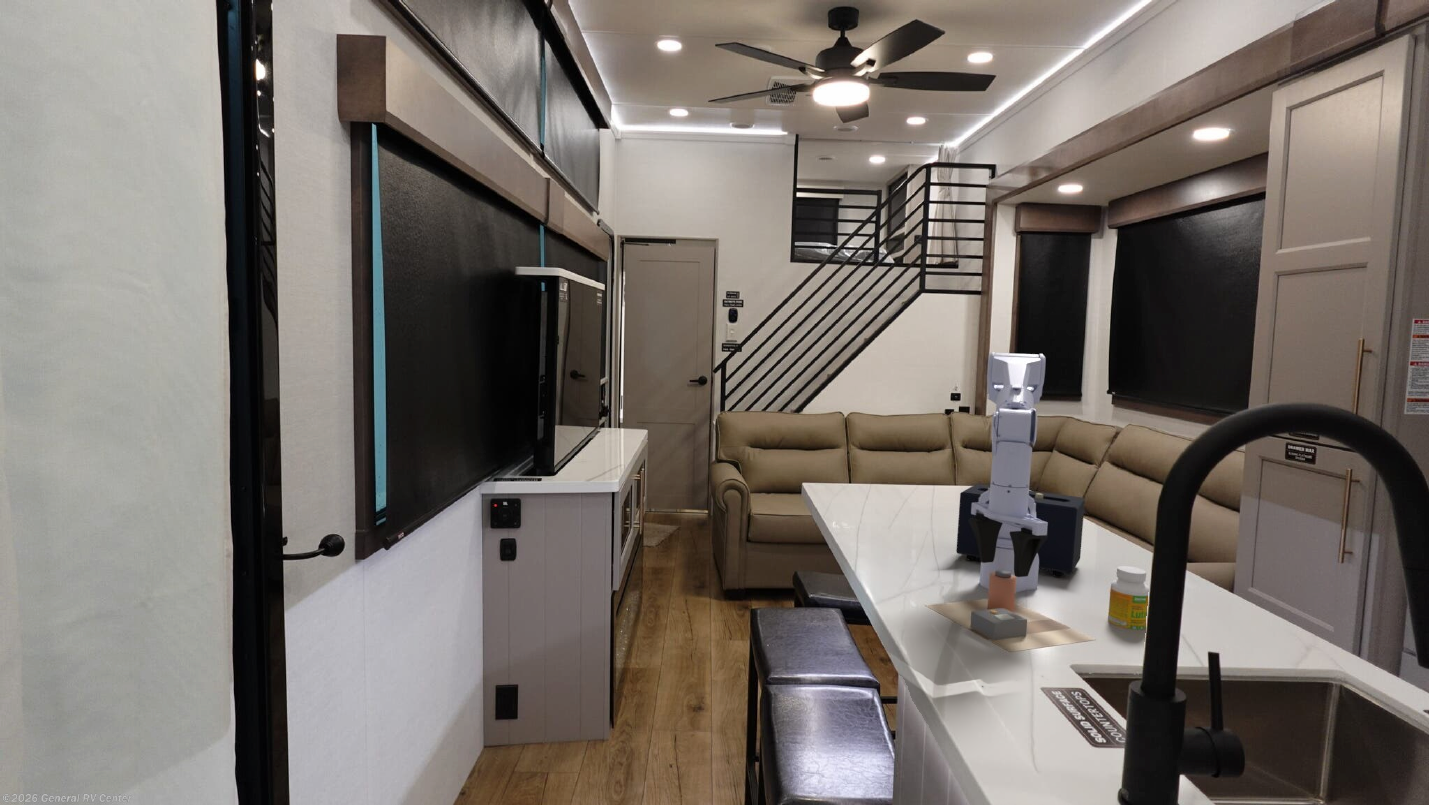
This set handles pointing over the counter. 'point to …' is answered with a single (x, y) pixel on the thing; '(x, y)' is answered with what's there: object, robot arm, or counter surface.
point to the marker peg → (1002, 590)
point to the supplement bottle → (1129, 598)
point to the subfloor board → (1037, 636)
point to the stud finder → (998, 623)
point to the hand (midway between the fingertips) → (1003, 568)
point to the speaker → (1052, 508)
